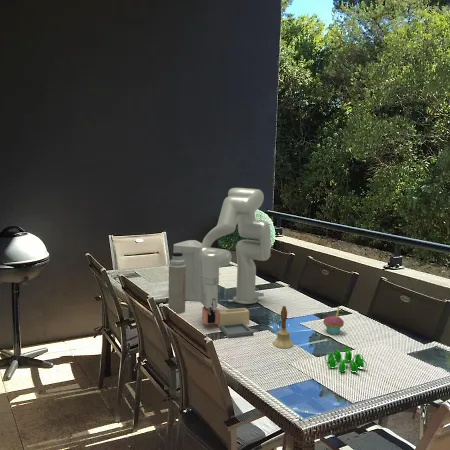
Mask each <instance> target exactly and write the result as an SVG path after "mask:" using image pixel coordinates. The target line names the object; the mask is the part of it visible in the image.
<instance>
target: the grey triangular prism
mask: <svg viewBox="0 0 450 450" xmlns="http://www.w3.org/2000/svg"><path fill="white" fill-rule="evenodd" d="M201 245H202V242H200V241H198V240H195V239H193V240H192V239H190V240H185V241H181V242H177V243H174V244H173V252H172V253H182V254H183V255H182V256H183V260H184V262H185V263H184V264H185V265H186V286H185V301H189V302H195V303H201V287H202V284H201V278H202V262H201V261H200V258H199V254H200V249H201Z"/></svg>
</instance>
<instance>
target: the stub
mask: <svg viewBox="0 0 450 450" xmlns="http://www.w3.org/2000/svg"><path fill="white" fill-rule="evenodd" d="M216 309H217V310H216V314H215V323H208V314H209V310H208V308H206V307H204V306H203V307H202V310H201V311H202V312H201V313H202V314H201V316H202V317H201V321H202V322H203V323H204V324H205V325H212V324H216V323H219V310H220V309H219V308H218V306H217V307H216ZM210 310H212V309H210Z"/></svg>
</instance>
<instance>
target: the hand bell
mask: <svg viewBox="0 0 450 450" xmlns="http://www.w3.org/2000/svg"><path fill="white" fill-rule="evenodd" d="M280 319H281V328H280V329H281V330H278V331H277V337H276V338H275V340H273V341H272V345H273V347H275V348H278V349H284V350H286V349H291V348H293V347H294V343H293V342H292V340H291V338H290V332H289V331H288V330H287V329H286V328H287V326H286V325H287V323H286V321H287V319H288V309H287V306H286V305H283V306H282V307H281V311H280Z"/></svg>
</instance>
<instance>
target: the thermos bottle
mask: <svg viewBox="0 0 450 450" xmlns="http://www.w3.org/2000/svg"><path fill="white" fill-rule="evenodd" d="M182 255H183V254H182V253H173V252H172V253H171V256H172V257H171V259H170V260H169V264H168V302H167V303H168V306H167V307H169V308H170V309H172V310H173V311H174V312H176V313H178V314H183V313H185V312H186V300H185V286H186V265H185V264H184V263H185V262H184V260H183V256H182ZM176 313H175V314H176Z"/></svg>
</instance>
